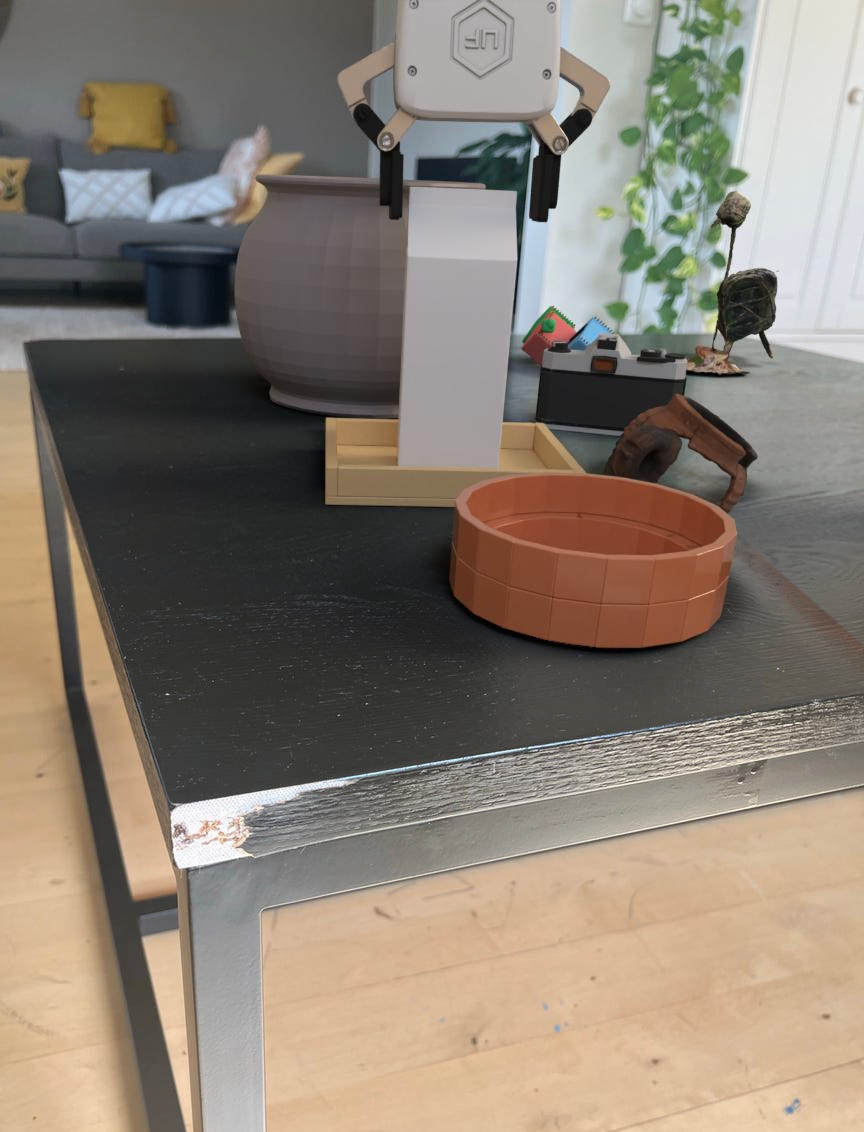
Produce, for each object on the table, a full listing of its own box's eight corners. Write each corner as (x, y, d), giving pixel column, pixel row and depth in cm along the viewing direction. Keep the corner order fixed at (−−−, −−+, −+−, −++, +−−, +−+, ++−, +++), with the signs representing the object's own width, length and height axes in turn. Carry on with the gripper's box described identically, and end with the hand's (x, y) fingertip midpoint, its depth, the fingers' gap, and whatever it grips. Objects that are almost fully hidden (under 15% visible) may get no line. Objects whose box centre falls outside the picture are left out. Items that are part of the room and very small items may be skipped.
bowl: (668, 554, 60) (682, 474, 58) (762, 659, 47) (784, 561, 45) (437, 551, 59) (442, 469, 57) (468, 656, 46) (476, 556, 44)
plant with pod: (770, 383, 114) (808, 194, 106) (670, 373, 117) (699, 189, 109) (768, 371, 121) (804, 193, 113) (674, 363, 124) (702, 189, 116)
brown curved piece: (618, 477, 77) (689, 389, 73) (707, 557, 73) (787, 469, 70) (549, 466, 67) (627, 365, 64) (648, 558, 64) (736, 456, 60)
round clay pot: (184, 406, 92) (172, 171, 83) (314, 367, 112) (316, 175, 104) (430, 443, 83) (445, 183, 74) (523, 393, 103) (543, 185, 95)
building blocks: (554, 404, 121) (606, 360, 110) (503, 362, 120) (551, 313, 109) (583, 360, 124) (637, 313, 113) (534, 318, 123) (583, 267, 112)
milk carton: (497, 485, 70) (523, 192, 62) (397, 481, 70) (410, 187, 62) (488, 459, 76) (511, 190, 68) (396, 455, 76) (408, 185, 68)
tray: (540, 454, 81) (543, 422, 80) (582, 509, 68) (587, 473, 66) (325, 449, 80) (325, 417, 78) (325, 505, 66) (325, 467, 65)
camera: (678, 424, 93) (687, 324, 89) (682, 442, 86) (691, 335, 82) (539, 422, 96) (542, 326, 92) (532, 440, 89) (535, 336, 85)
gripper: (337, -114, 55) (338, 220, 62) (643, -104, 56) (608, 225, 63) (336, -83, 62) (336, 216, 69) (608, -73, 62) (581, 220, 70)
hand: (466, 220), depth 66 cm, fingers open, 9 cm apart
